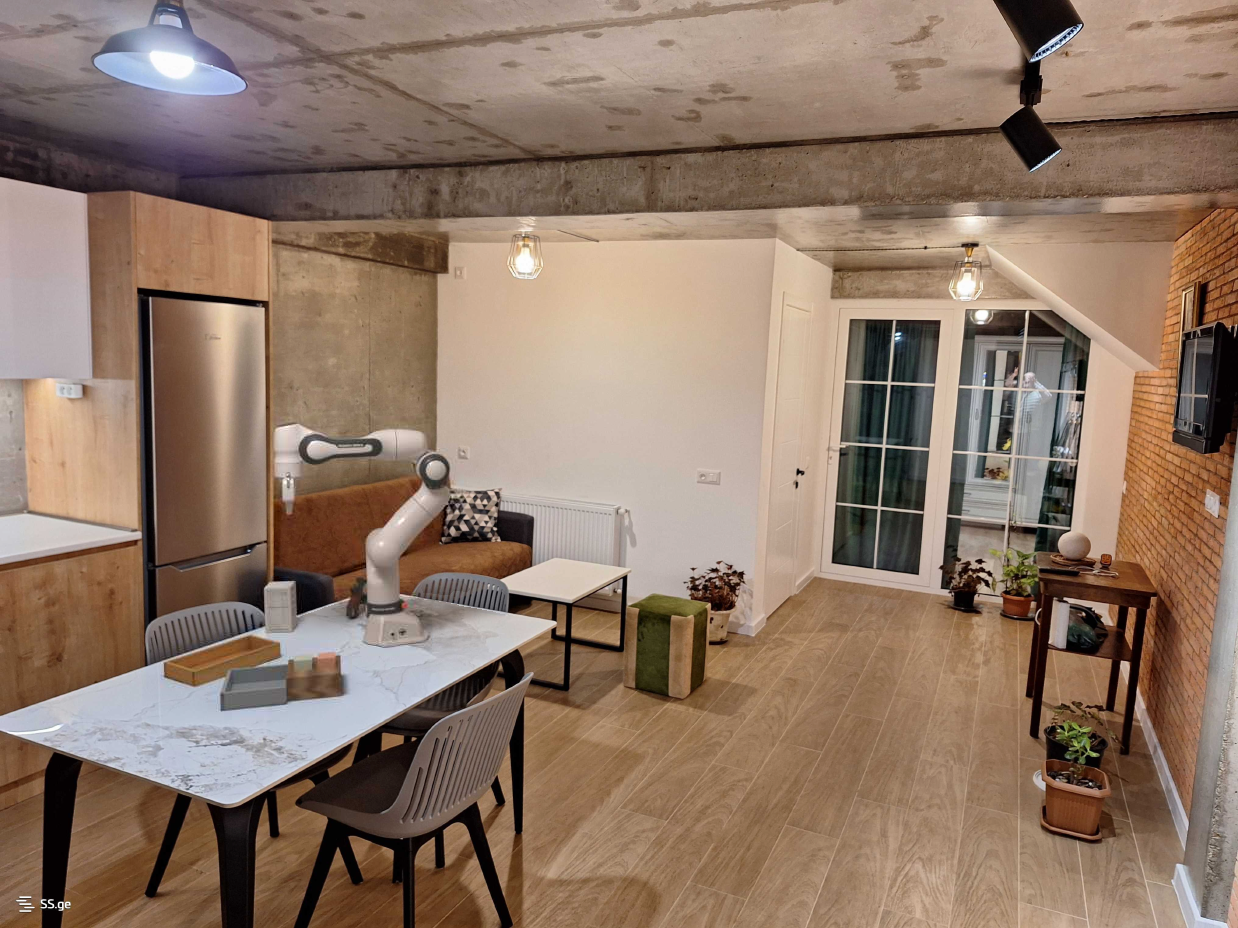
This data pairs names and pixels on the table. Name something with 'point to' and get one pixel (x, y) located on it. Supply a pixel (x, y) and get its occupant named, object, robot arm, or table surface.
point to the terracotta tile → (326, 660)
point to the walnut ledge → (313, 681)
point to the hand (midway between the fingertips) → (289, 511)
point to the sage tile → (303, 662)
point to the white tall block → (280, 607)
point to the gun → (357, 597)
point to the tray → (221, 660)
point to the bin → (254, 687)
